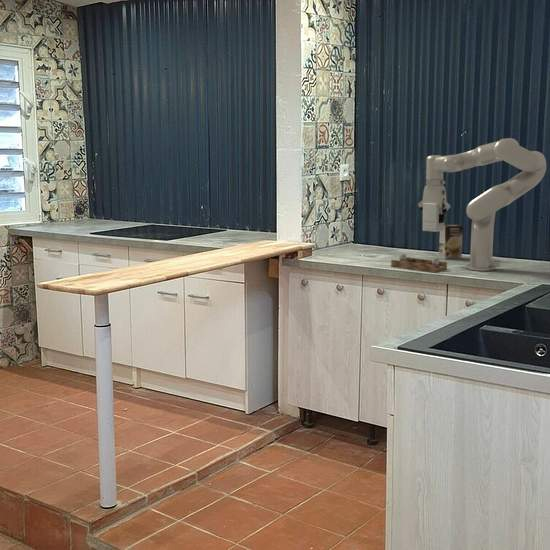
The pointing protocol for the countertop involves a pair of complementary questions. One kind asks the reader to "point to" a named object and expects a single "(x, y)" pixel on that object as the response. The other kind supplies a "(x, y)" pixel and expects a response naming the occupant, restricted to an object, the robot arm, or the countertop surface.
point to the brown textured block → (419, 264)
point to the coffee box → (451, 242)
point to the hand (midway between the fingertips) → (433, 222)
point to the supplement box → (431, 218)
